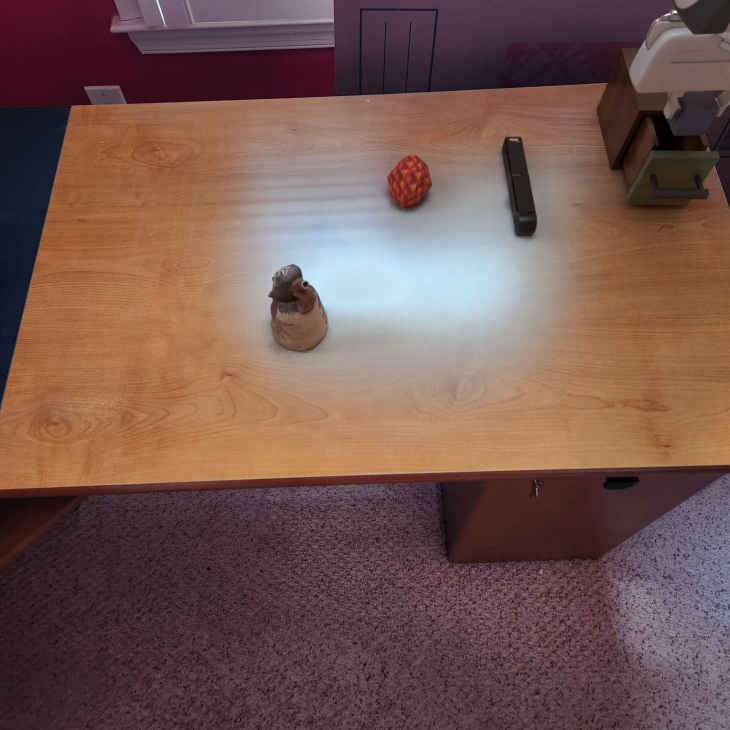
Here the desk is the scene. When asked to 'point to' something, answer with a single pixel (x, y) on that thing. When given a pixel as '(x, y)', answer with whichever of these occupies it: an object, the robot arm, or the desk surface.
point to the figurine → (296, 310)
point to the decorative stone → (409, 180)
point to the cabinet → (624, 108)
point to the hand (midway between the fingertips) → (690, 114)
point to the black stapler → (519, 186)
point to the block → (695, 113)
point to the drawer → (666, 164)
